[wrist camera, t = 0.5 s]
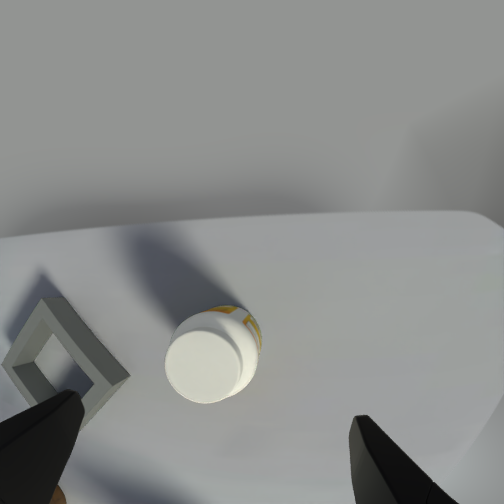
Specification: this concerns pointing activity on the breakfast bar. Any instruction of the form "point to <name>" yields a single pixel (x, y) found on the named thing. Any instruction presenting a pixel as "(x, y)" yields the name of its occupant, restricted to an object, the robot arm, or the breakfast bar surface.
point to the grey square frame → (77, 345)
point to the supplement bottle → (213, 354)
